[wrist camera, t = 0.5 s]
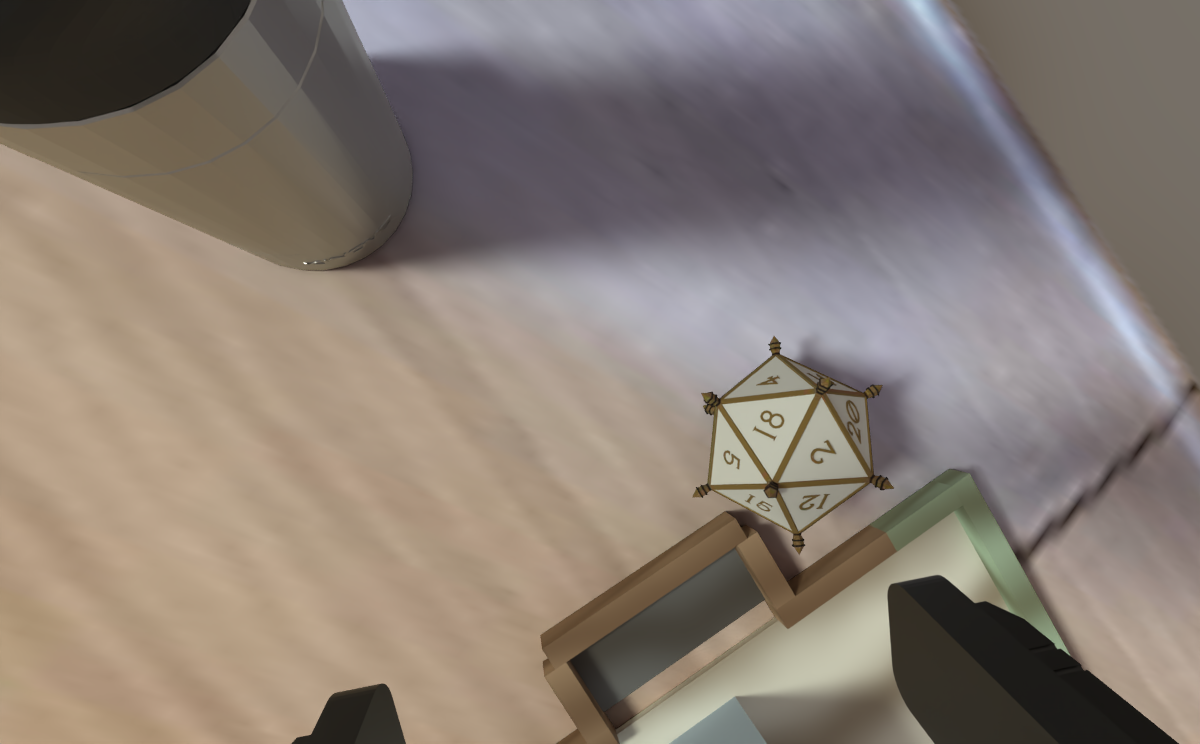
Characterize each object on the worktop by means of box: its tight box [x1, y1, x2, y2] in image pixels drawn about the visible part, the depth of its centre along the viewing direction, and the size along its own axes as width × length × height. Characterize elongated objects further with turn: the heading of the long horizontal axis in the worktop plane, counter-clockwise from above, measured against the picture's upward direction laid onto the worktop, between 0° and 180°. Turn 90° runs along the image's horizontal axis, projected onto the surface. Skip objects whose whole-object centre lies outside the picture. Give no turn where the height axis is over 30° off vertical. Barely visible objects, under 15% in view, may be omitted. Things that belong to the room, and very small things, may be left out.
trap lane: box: [541, 469, 1070, 744], centre depth 31 cm, size 25×30×2 cm
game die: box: [693, 336, 894, 555], centre depth 28 cm, size 9×8×10 cm
